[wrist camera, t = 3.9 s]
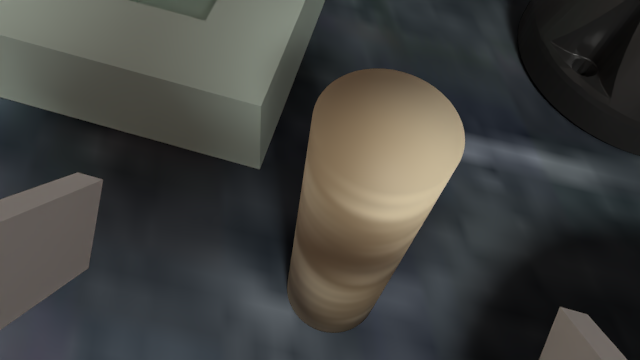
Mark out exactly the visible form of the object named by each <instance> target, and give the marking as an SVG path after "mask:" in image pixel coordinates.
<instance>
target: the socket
mask: <svg viewBox="0 0 640 360" xmlns="http://www.w3.org/2000/svg"><path fill="white" fill-rule="evenodd" d="M324 2H325V0H0V97H1V98H5V99H9V100H12V101H16V102H19V103H23V104H27V105H30V106H34V107H37V108H41V109H44V110H48V111H52V112H55V113H59V114H62V115H66V116H70V117H73V118H77V119H80V120H84V121H87V122H91V123H95V124H98V125H102V126H105V127H109V128H113V129H116V130H120V131H123V132H127V133H130V134H134V135H138V136H141V137H145V138H148V139H152V140H156V141H159V142H163V143H166V144H170V145H173V146H177V147H181V148H184V149H188V150H191V151H195V152H199V153H202V154H206V155H209V156H213V157H216V158H220V159H224V160H227V161H231V162H234V163H238V164H242V165H245V166H249V167H252V168H256V169H259V170H260V168H261V165H262V162H263V160H264V157H265V155H266V152H267V149H268V147H269V144H270V142H271V139H272V137H273V134H274V131H275V129H276V126H277V124H278V121H279V118H280V116H281V113H282V111H283V108H284V105H285V103H286V100H287V98H288V95H289V93H290V90H291V87H292V85H293V82H294V80H295V77H296V74H297V72H298V69H299V67H300V64H301V61H302V59H303V56H304V54H305V51H306V49H307V46H308V43H309V41H310V38H311V36H312V33H313V30H314V28H315V25H316V23H317V20H318V18H319V15H320V12H321V10H322V7H323V5H324Z"/></svg>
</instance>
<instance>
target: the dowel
mask: <svg viewBox="0 0 640 360" xmlns="http://www.w3.org/2000/svg"><path fill="white" fill-rule="evenodd" d="M464 147H465V135H464V128H463V125H462V122H461V119H460V117H459V115H458V113H457V111H456V109H455V108H454V106H453V105H452V104H451V102H450V101H449V100H448V99H447V98H446V97H445V96H444V95H443V94H442V93H441V92H440V91H439V90H437V89H436V88H435V87H433V86H432V85H430V84H429V83H427V82H425V81H424V80H422V79H420V78H418V77H415V76H413V75H410V74H407V73H404V72H400V71H396V70H390V69H364V70H359V71H355V72H352V73H349V74H346V75H344V76H342V77H340V78H338V79H337V80H335V81H333V82H332V83H331V84H330V85H328V86H327V87H326V88H325V90H324V91H323V92H322V93H321V95H320V96H319V98H318V99H317V102H316V104H315V106H314V110H313V115H312V121H311V128H310V135H309V142H308V148H307V155H306V162H305V169H304V175H303V182H302V189H301V195H300V202H299V209H298V216H297V222H296V229H295V236H294V243H293V249H292V256H291V263H290V270H289V276H288V284H287V293H288V298H289V301H290V304H291V306H292V308H293V310H294V312H295V313H296V314H297V316H298V317H299V318H300V319H301V320H302V321H303V322H304V323H306V324H307V325H309V326H310V327H312V328H314V329H317V330H319V331H323V332H330V333H338V332H344V331H347V330H350V329H352V328H354V327H356V326H358V325H359V324H360V323H362V322H363V321H364V320H365V319H366V317H367V316H368V315H369V313H370V311H371V310H372V308H373V306H374V305H375V303H376V301H377V300H378V298H379V296H380V295H381V293H382V291H383V290H384V288H385V286H386V285H387V283H388V281H389V280H390V278H391V276H392V275H393V273H394V271H395V270H396V268H397V266H398V265H399V263H400V261H401V260H402V258H403V256H404V254H405V253H406V251H407V249H408V248H409V246H410V244H411V243H412V241H413V239H414V238H415V236H416V234H417V233H418V231H419V229H420V228H421V226H422V224H423V223H424V221H425V219H426V218H427V216H428V214H429V213H430V211H431V209H432V208H433V206H434V204H435V202H436V201H437V199H438V197H439V196H440V194H441V192H442V191H443V189H444V187H445V186H446V184H447V182H448V181H449V179H450V177H451V176H452V174H453V172H454V171H455V169H456V167H457V166H458V164H459V162H460V160H461V158H462V155H463V151H464Z"/></svg>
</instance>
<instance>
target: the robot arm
mask: <svg viewBox="0 0 640 360" xmlns="http://www.w3.org/2000/svg"><path fill="white" fill-rule="evenodd" d="M518 45H519V51H520V54H521V58H522V61H523V63H524V66H525V68H526V70H527V72H528V74H529V75H530V77H531V79H532V80H533V82H534V83H535V85H536V86H537V88H538V89H539V90H540V92H541V93H542V94H543V95H544V96H545V97H546V99H547V100H548V101H549V102H550V103H551V104H552V105H553V106H554V107H555V108H556V109H557V110H558V111H560V112H561V113H562V114H563V115H564V116H565V117H567V118H568V119H569V120H570V121H572V122H573V123H574V124H576V125H577V126H579V127H580V128H582V129H583V130H585V131H586V132H588V133H589V134H591V135H593V136H594V137H596V138H598V139H600V140H602V141H604V142H606V143H608V144H610V145H612V146H614V147H617V148H619V149H622V150H624V151H627V152H630V153H633V154H636V155H639V156H640V0H531V1H530V3H529V5H528V6H527V8H526V10H525V12H524V14H523V16H522V18H521V20H520V24H519V29H518ZM102 184H103V179H99V178H96V177H92V176H89V175H85V174H81V173H78V172H77V173H74V174H72V175H69V176H66V177H63V178H60V179H57V180H54V181H52V182H49V183H46V184H43V185H40V186H37V187H34V188H32V189H29V190H26V191H23V192H20V193H17V194H14V195H12V196H9V197H6V198H3V199H0V330H1V329H2V328H4V327H5V326H6V325H8V324H9V323H11V322H12V321H14V320H15V319H16V318H18V317H19V316H21V315H22V314H24V313H25V312H26V311H28V310H29V309H31V308H32V307H34V306H35V305H36V304H38V303H39V302H41V301H42V300H44V299H45V298H46V297H48V296H49V295H51V294H52V293H54V292H55V291H56V290H58V289H59V288H61V287H62V286H64V285H65V284H66V283H68V282H69V281H71V280H72V279H73V278H75V277H76V276H78V275H79V274H81V273H82V272H83V271H85V270H86V269H88V267H89V261H90V255H91V249H92V243H93V237H94V232H95V226H96V220H97V214H98V208H99V202H100V196H101V190H102ZM539 360H627V359H626V358H625V356H624V355H623V354H622V353H621V352H620V351H619V350H618V348H617V347H616V346H615V345H614V344H613V343H612V342H611V340H610V339H609V338H608V337H607V336H606V335H605V334H604V333H603V331H602V330H601V329H600V328H599V327H598V326H597V325H596V323H595V322H594V321H593V320H592V319H591V318H590V317H589V315H588V314H584V313H581V312H577V311H574V310H570V309H566V308H563V307H560V308H559V310H558V313H557V315H556V318H555V320H554V323H553V325H552V328H551V330H550V333H549V336H548V338H547V341H546V343H545V346H544V348H543V351H542V353H541V356H540V358H539Z"/></svg>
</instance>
